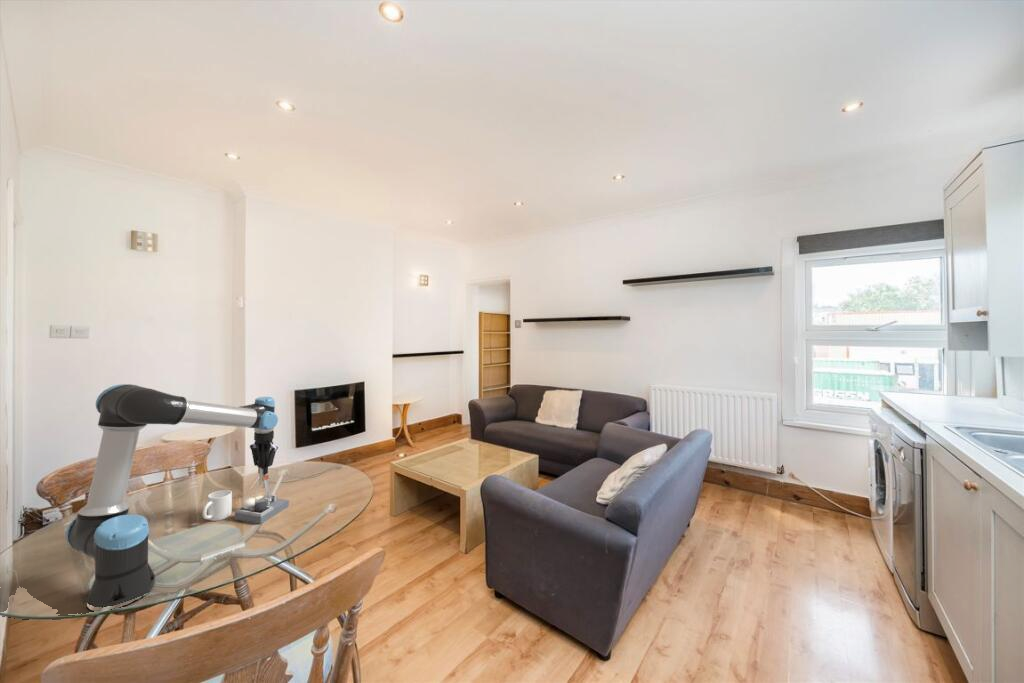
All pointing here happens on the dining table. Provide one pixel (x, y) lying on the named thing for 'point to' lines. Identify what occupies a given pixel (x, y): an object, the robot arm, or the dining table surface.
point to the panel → (259, 518)
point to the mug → (218, 505)
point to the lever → (267, 487)
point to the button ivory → (248, 503)
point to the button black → (260, 507)
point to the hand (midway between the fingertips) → (262, 480)
